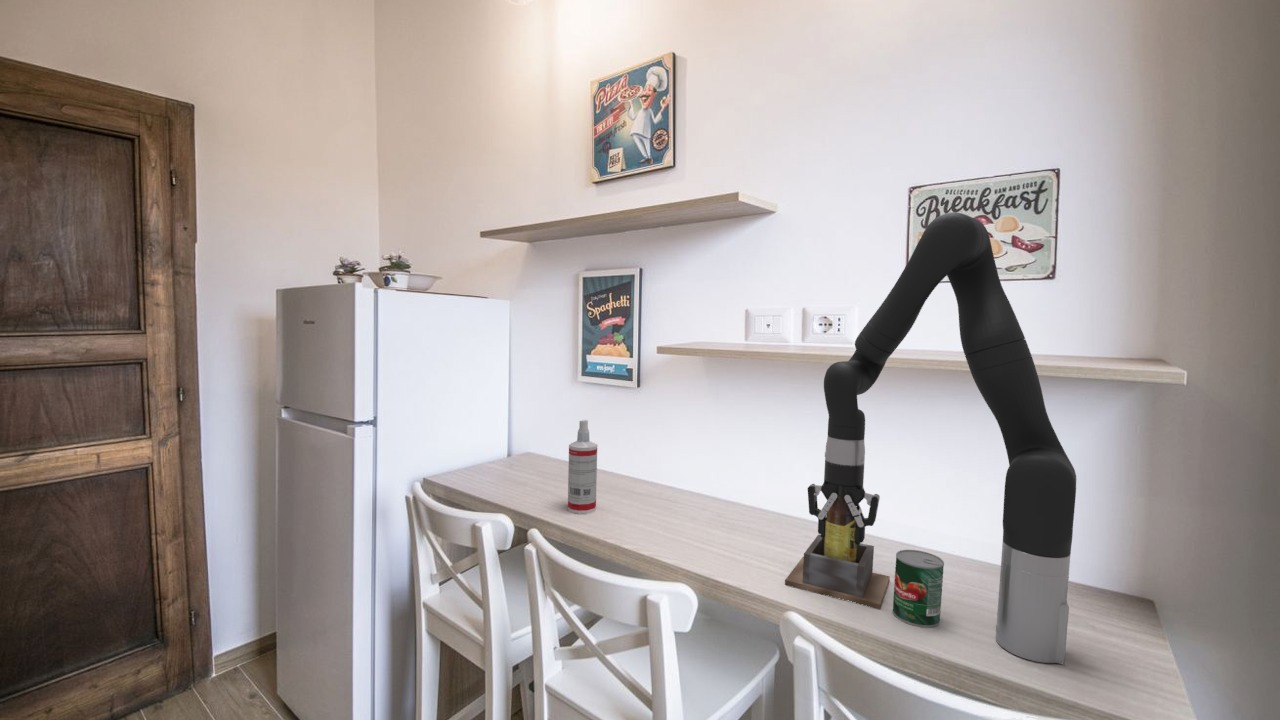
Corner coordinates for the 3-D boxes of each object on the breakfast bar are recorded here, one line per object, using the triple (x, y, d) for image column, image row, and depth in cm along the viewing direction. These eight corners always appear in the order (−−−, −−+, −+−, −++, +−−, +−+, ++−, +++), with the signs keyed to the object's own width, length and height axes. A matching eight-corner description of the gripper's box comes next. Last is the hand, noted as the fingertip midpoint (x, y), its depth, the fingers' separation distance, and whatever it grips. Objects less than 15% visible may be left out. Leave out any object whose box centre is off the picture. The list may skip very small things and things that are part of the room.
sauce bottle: (855, 580, 113) (860, 482, 112) (822, 575, 115) (827, 478, 114) (855, 567, 119) (860, 474, 118) (823, 562, 121) (828, 470, 120)
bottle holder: (889, 581, 119) (891, 548, 118) (880, 609, 107) (882, 573, 106) (802, 560, 128) (804, 530, 127) (784, 584, 116) (786, 551, 115)
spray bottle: (592, 514, 154) (594, 423, 153) (565, 513, 155) (567, 422, 153) (597, 505, 162) (599, 418, 160) (571, 504, 163) (573, 417, 161)
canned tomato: (886, 617, 104) (890, 558, 103) (899, 601, 110) (902, 545, 110) (934, 632, 99) (938, 571, 98) (944, 615, 105) (948, 557, 104)
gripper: (885, 460, 115) (880, 541, 116) (813, 451, 122) (809, 527, 124) (880, 468, 109) (875, 554, 110) (804, 457, 116) (800, 538, 117)
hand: (840, 539), depth 117 cm, fingers closed on sauce bottle, 6 cm apart
